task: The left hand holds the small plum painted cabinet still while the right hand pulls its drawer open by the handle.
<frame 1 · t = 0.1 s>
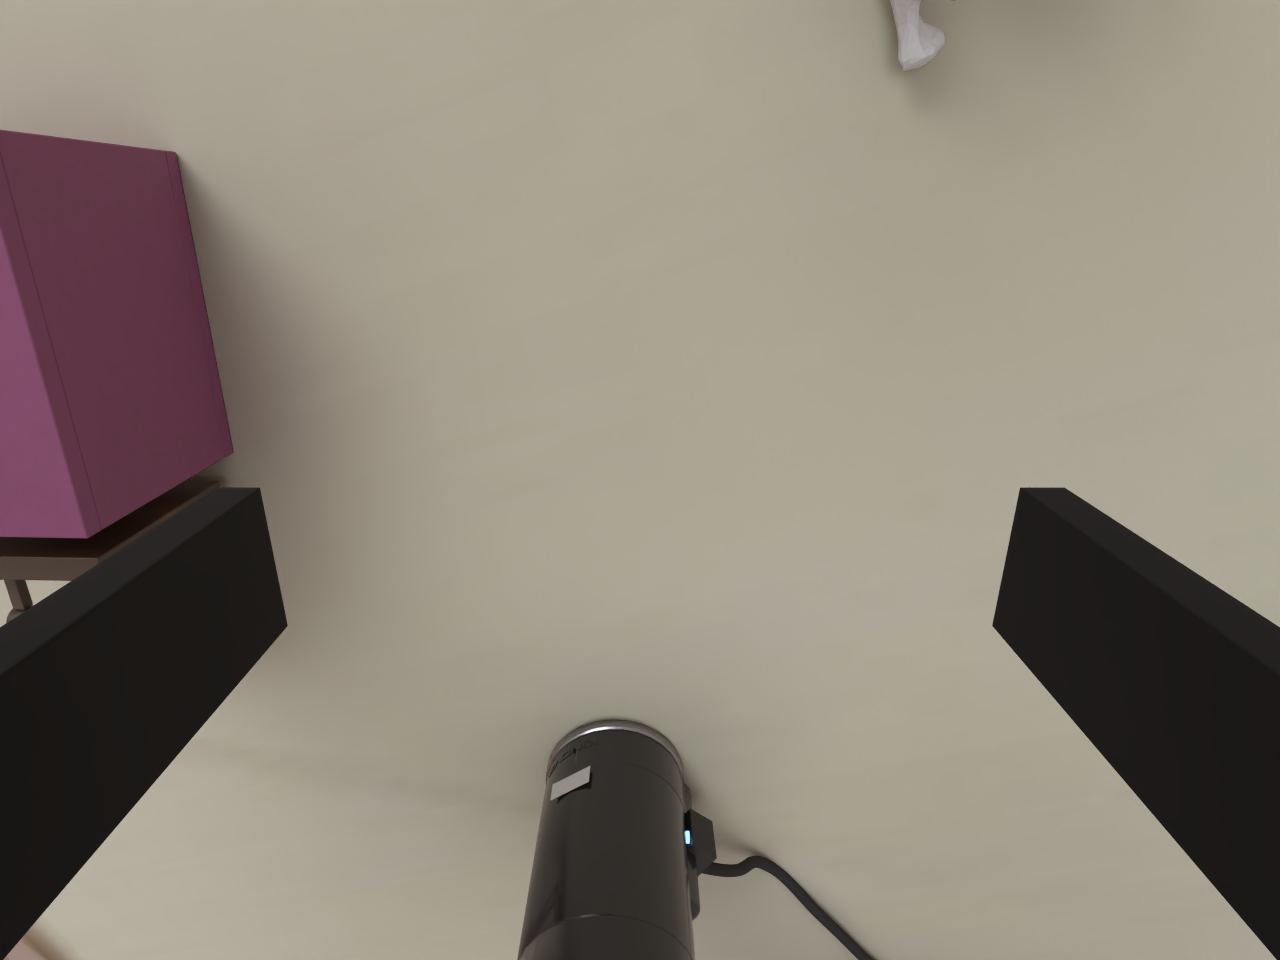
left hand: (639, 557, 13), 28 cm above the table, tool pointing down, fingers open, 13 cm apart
drawer: (51, 450, 35), point 6 cm above the table, slide at 1.4 cm
cabinet: (105, 311, 39), on the table
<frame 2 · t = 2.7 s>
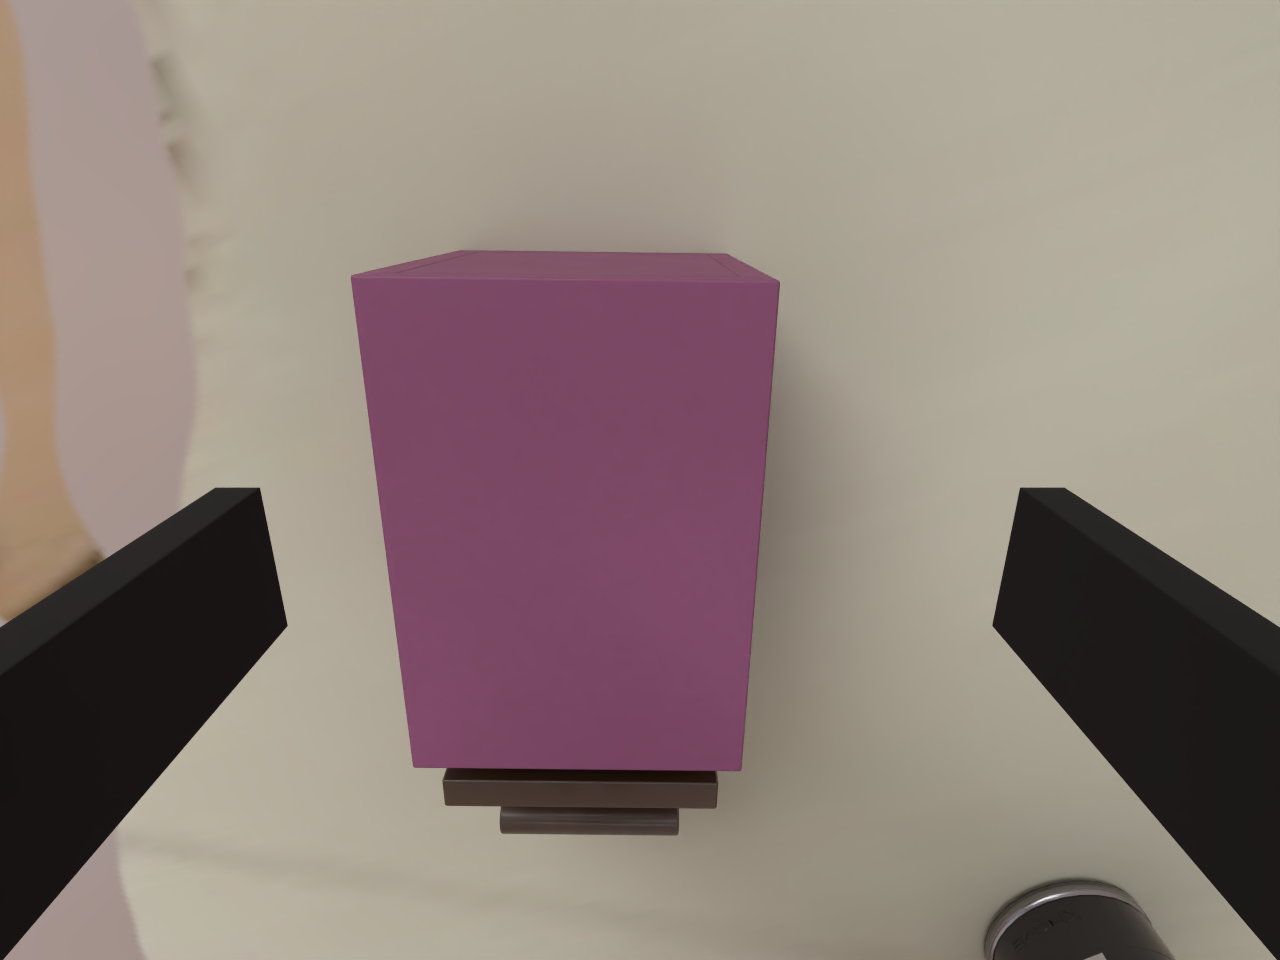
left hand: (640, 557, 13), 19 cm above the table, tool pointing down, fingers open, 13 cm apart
drawer: (588, 624, 29), point 6 cm above the table, slide at 1.4 cm
cabinet: (595, 438, 32), on the table
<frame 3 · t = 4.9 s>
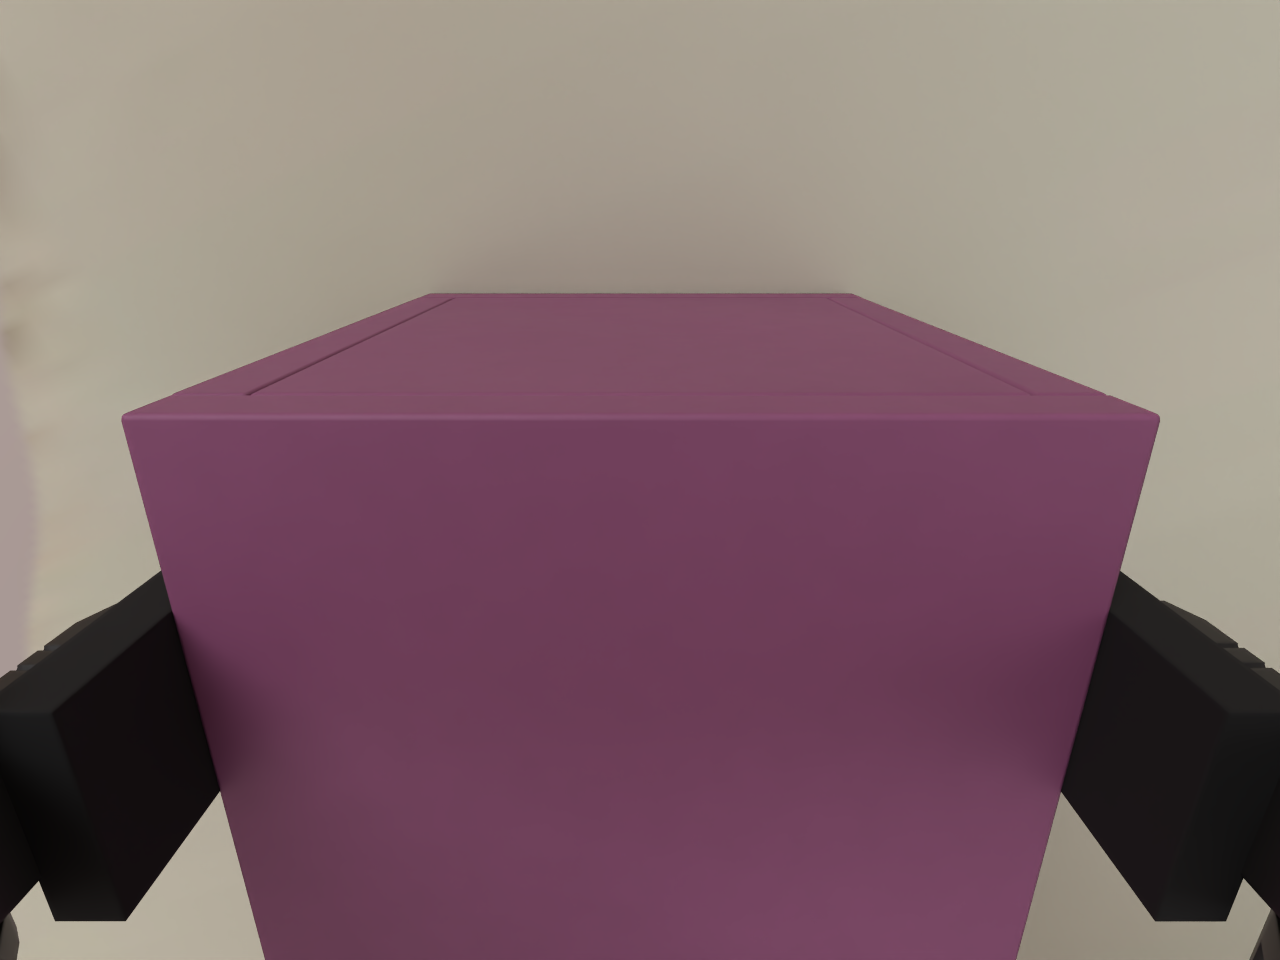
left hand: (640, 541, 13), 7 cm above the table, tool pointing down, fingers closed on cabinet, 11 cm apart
cabinet: (640, 567, 21), on the table, touching left hand
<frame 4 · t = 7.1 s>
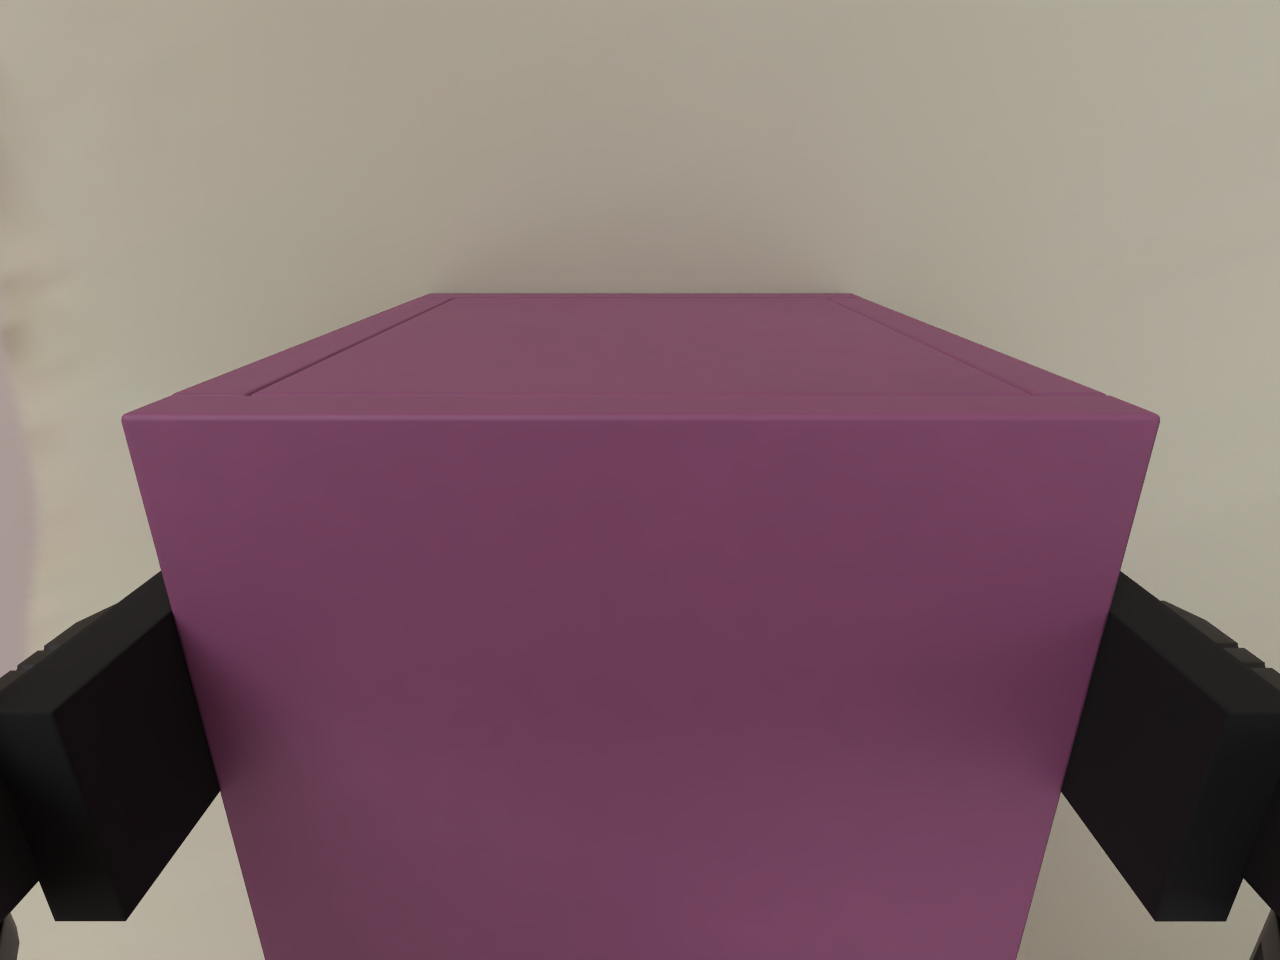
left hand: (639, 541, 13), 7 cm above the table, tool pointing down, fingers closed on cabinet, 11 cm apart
cabinet: (640, 567, 21), on the table, touching left hand
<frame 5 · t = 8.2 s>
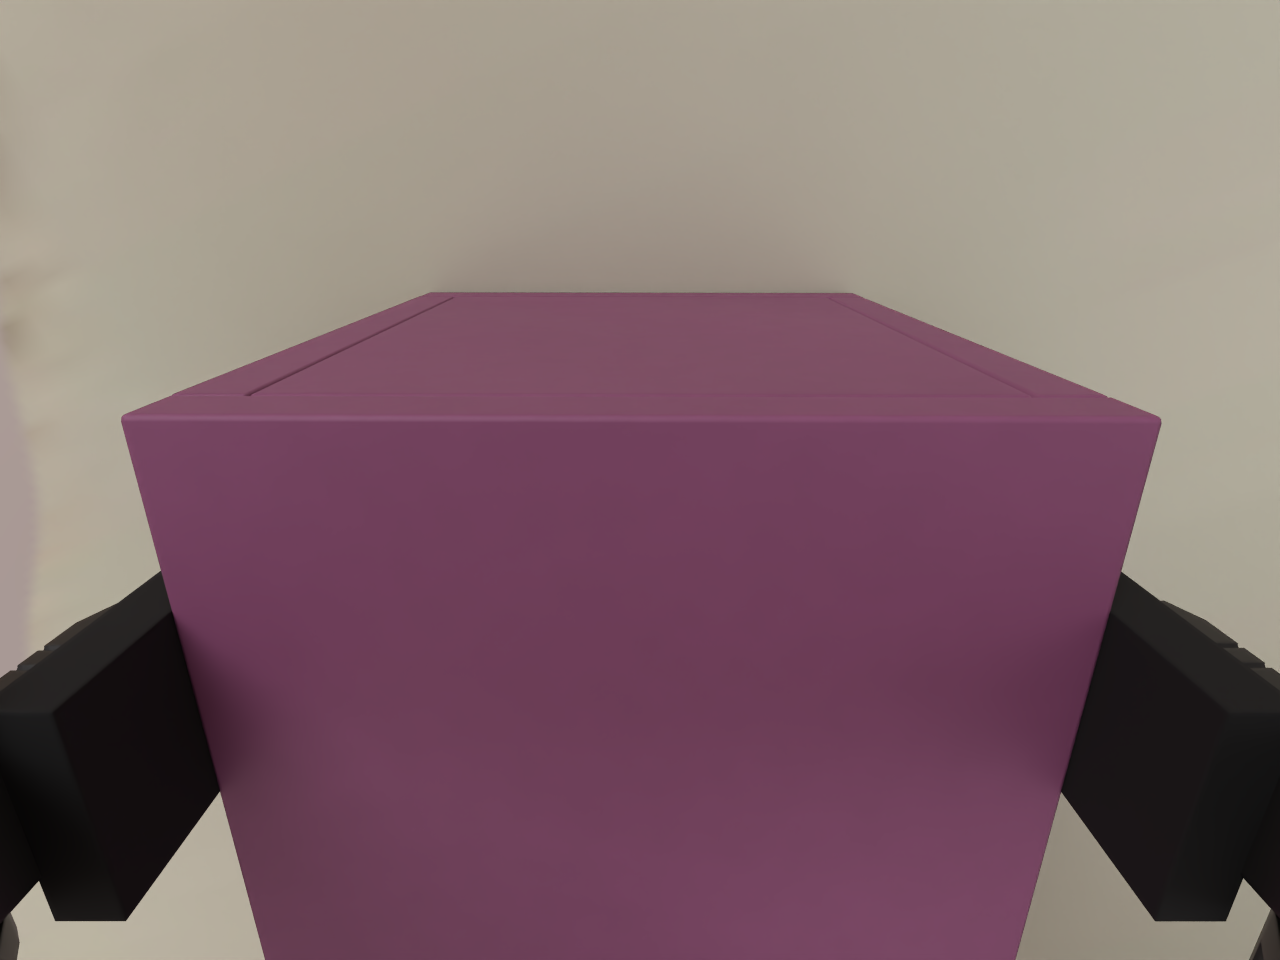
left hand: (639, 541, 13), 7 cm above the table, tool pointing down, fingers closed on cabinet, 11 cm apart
cabinet: (640, 567, 21), on the table, touching left hand
when the left hand's fingers open (7 cm above the table, at t = 10.1 s): cabinet stays where it is, on the table.
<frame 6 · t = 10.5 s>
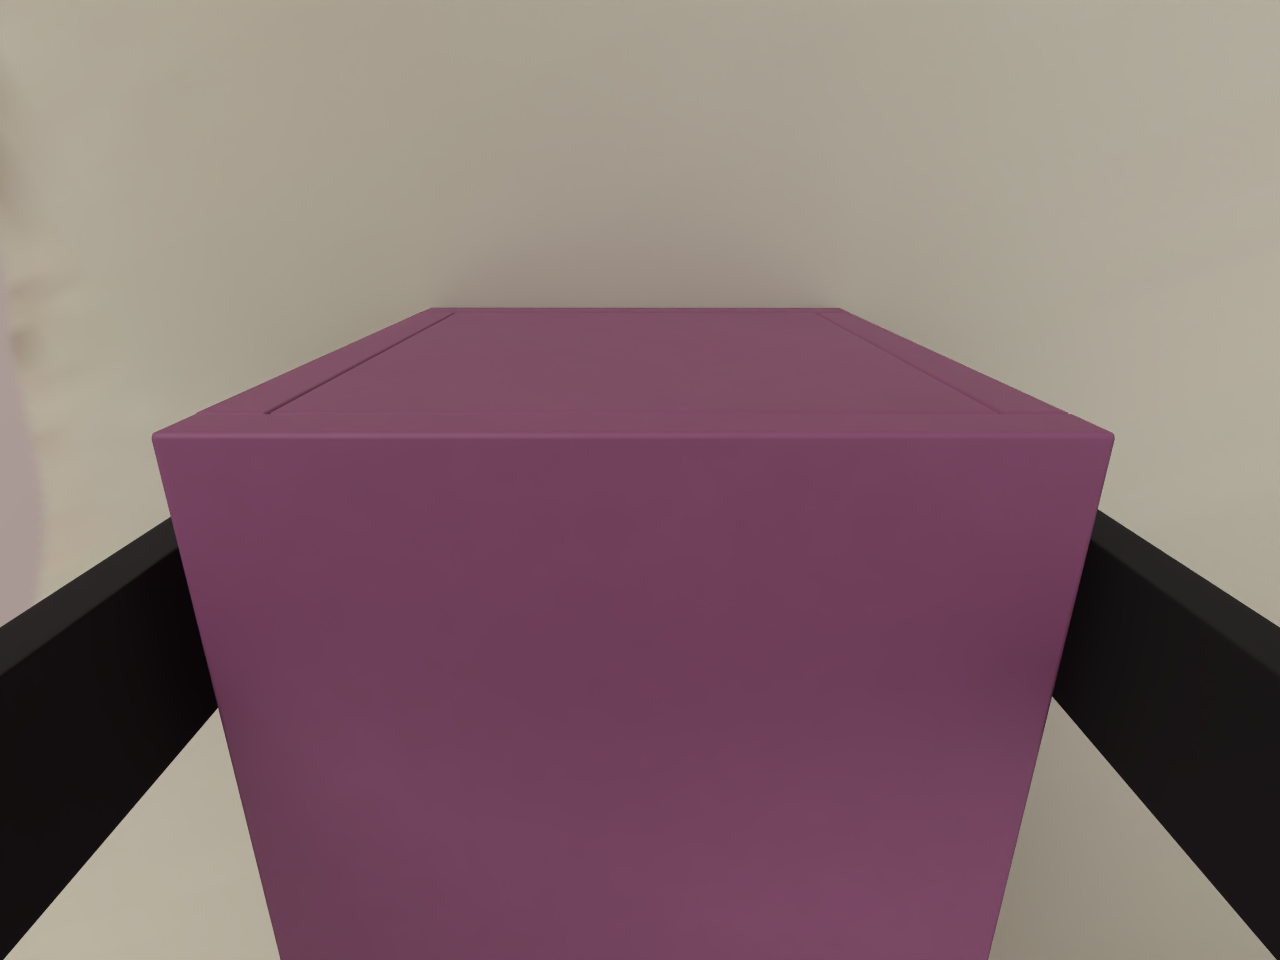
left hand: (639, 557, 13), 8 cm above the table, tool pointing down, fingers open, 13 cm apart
cabinet: (636, 573, 22), on the table
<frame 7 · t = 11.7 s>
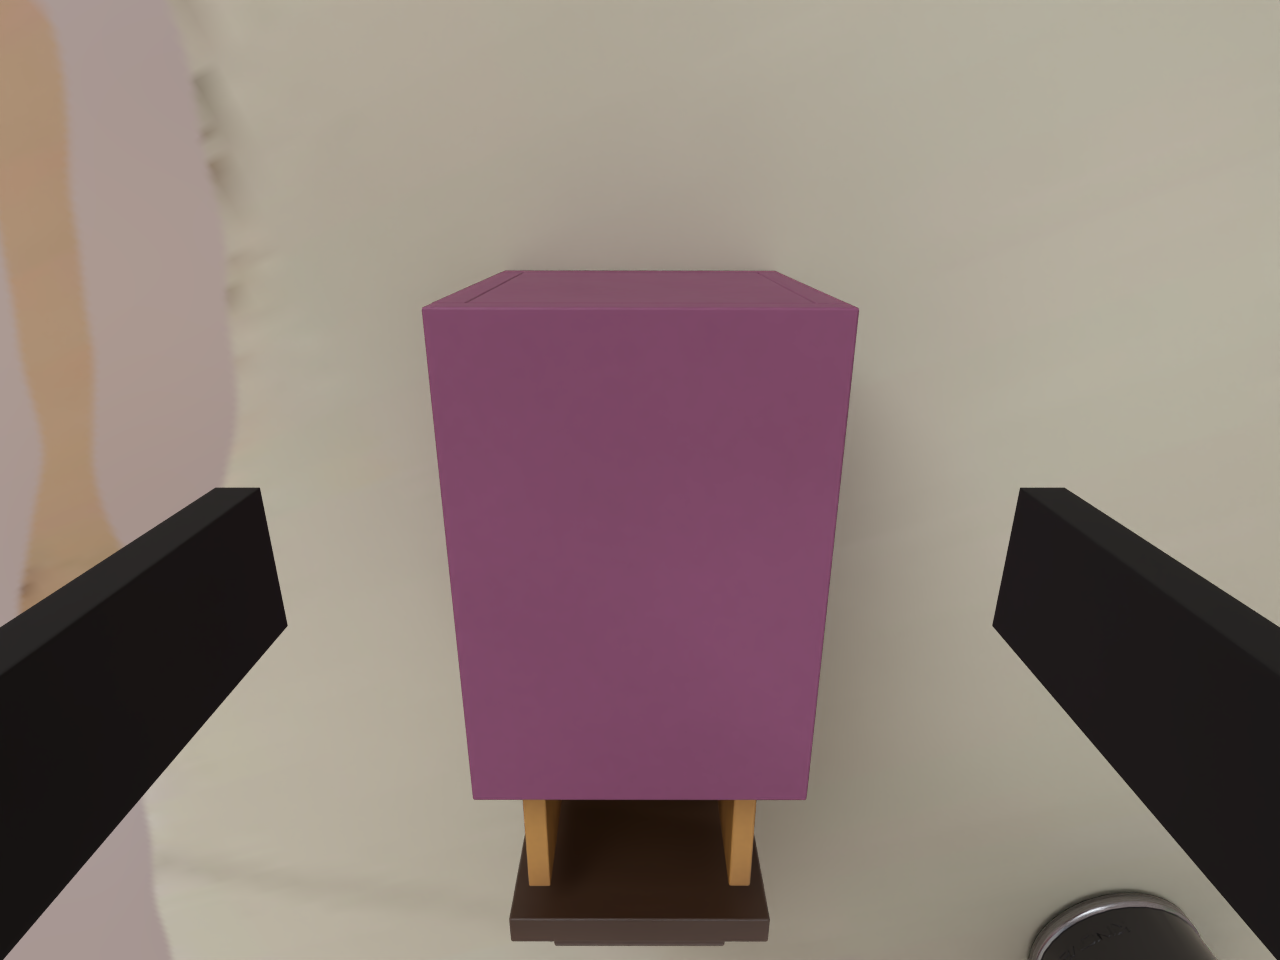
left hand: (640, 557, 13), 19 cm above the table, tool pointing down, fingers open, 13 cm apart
drawer: (639, 754, 30), point 6 cm above the table, slide at 6.7 cm
cabinet: (640, 457, 32), on the table
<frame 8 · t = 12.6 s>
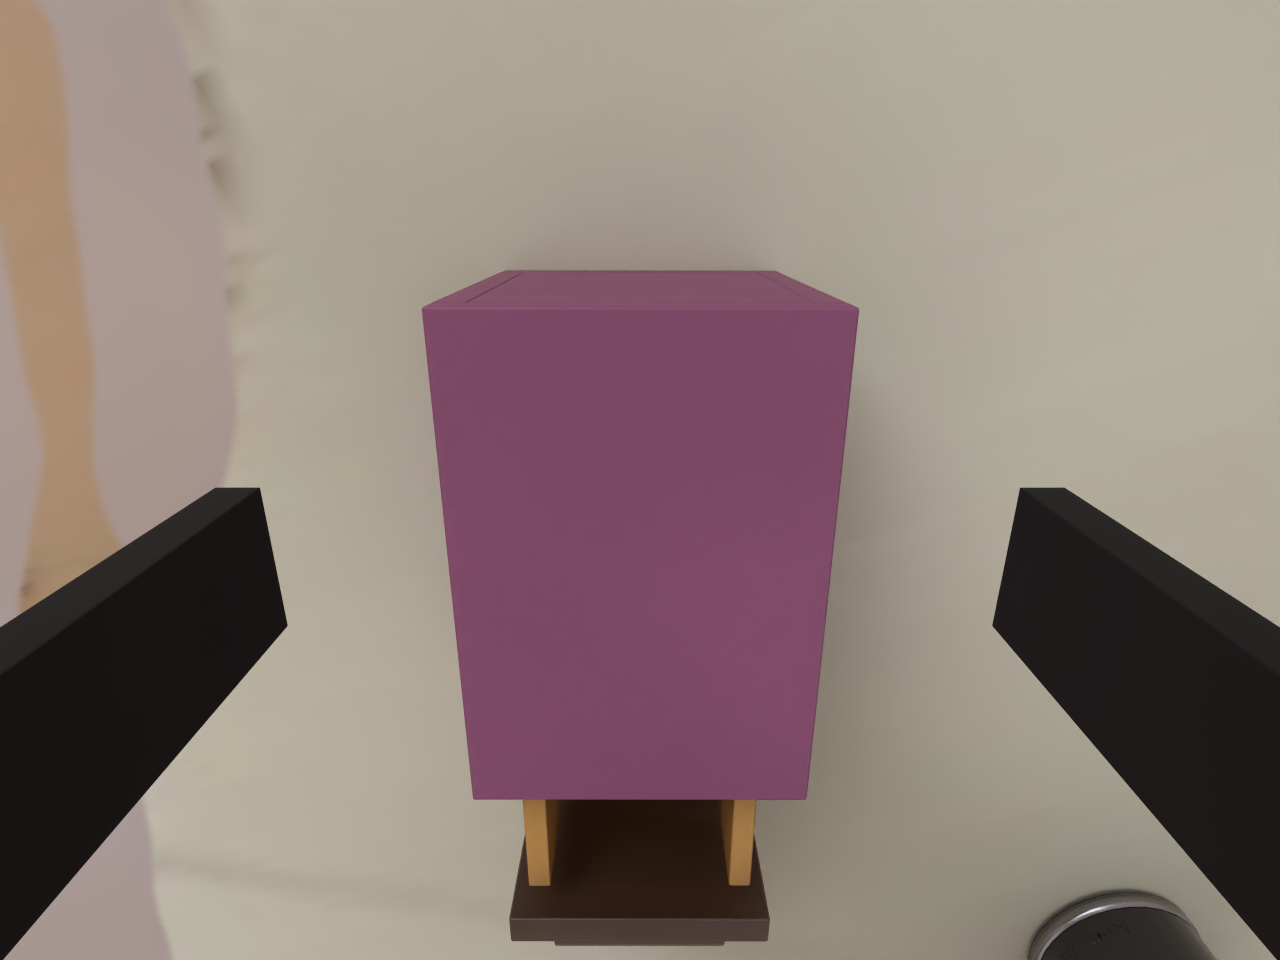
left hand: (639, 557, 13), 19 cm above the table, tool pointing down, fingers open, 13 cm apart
drawer: (639, 754, 30), point 6 cm above the table, slide at 6.7 cm
cabinet: (640, 457, 32), on the table
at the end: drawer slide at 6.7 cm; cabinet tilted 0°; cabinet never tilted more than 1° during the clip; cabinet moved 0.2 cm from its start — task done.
